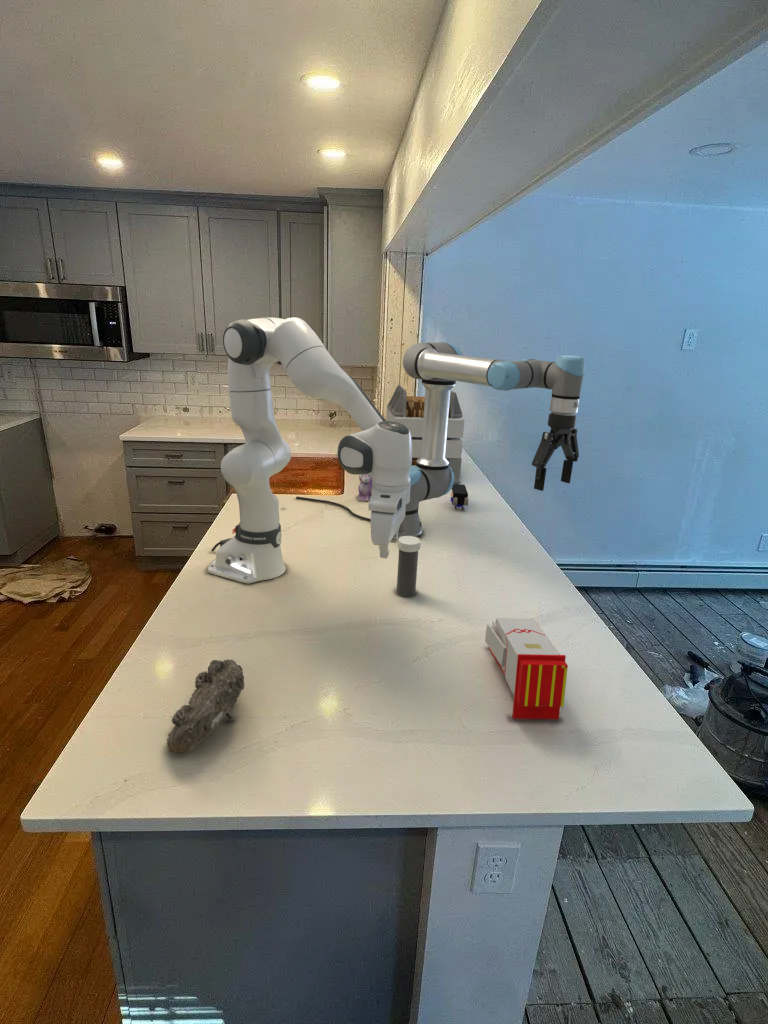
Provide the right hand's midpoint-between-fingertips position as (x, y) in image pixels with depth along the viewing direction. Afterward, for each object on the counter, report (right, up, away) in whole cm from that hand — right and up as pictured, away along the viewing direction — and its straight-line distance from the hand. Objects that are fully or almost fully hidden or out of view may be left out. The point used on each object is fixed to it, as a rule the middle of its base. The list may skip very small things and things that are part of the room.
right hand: (552, 485), depth 166 cm
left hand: (-48, -16, -31) cm, 59 cm away
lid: (-42, -16, -12) cm, 47 cm away
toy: (-20, -44, -42) cm, 64 cm away
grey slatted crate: (-32, +11, +109) cm, 115 cm away
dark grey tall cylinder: (-43, -30, -6) cm, 53 cm away
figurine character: (-19, -5, +66) cm, 69 cm away
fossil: (-82, -47, -57) cm, 110 cm away
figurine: (-56, -2, +70) cm, 90 cm away
